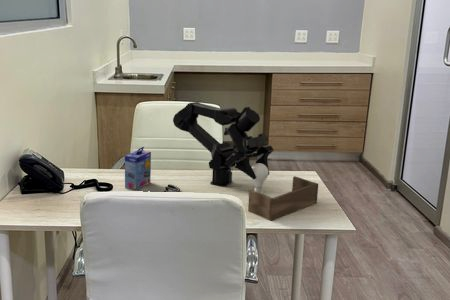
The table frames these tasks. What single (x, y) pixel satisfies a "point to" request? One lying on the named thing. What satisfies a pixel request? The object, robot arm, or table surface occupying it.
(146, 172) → the ink cartridge box
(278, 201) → the open box
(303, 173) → the table surface
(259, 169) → the lightbulb
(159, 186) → the table surface
